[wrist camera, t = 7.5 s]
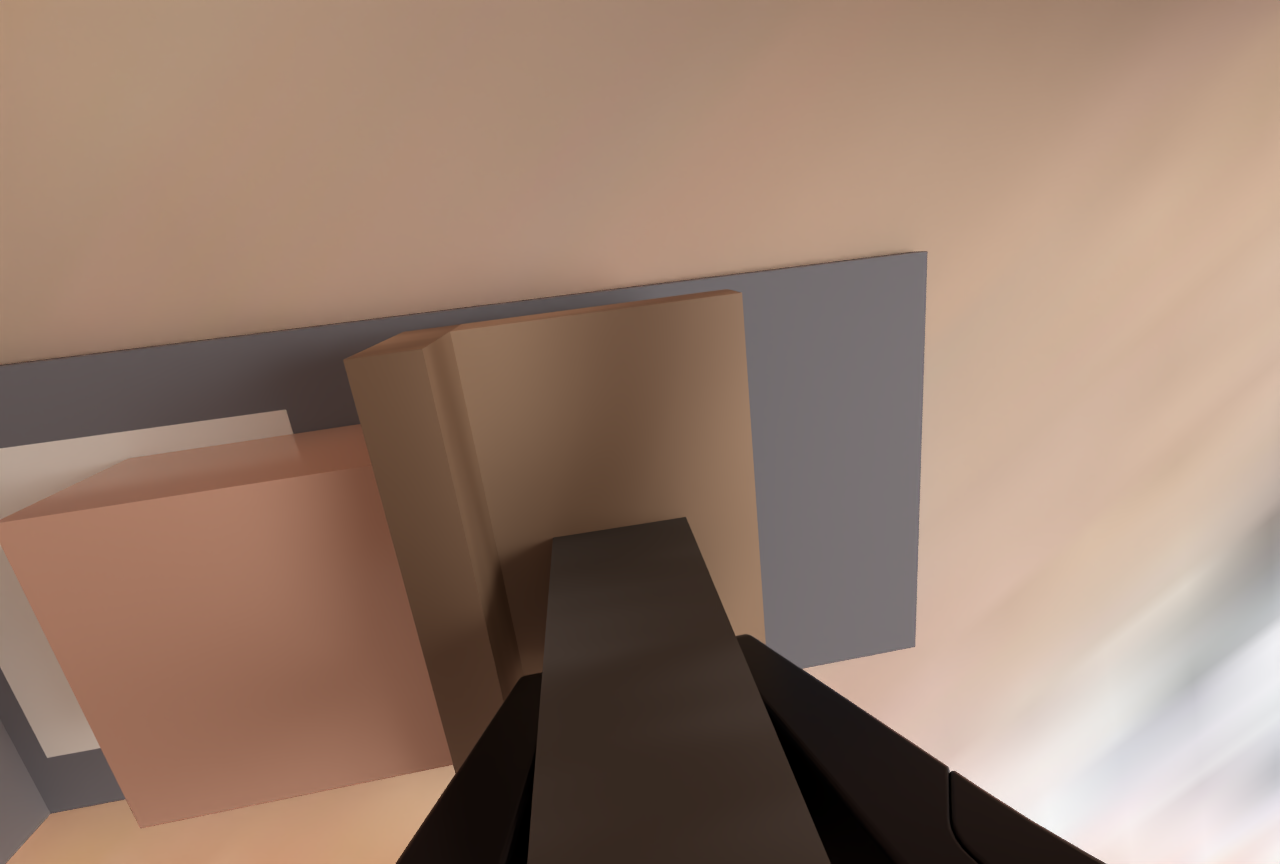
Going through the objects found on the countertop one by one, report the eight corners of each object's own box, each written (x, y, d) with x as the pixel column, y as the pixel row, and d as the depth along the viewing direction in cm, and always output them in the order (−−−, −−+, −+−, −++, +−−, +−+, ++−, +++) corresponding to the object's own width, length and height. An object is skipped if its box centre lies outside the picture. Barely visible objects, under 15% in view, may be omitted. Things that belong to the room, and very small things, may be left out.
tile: (439, 412, 12) (404, 459, 9) (495, 656, 14) (480, 758, 11) (127, 458, 12) (-10, 524, 9) (227, 707, 13) (140, 828, 11)
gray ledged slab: (916, 251, 13) (974, 251, 11) (906, 637, 16) (951, 685, 14) (-212, 391, 11) (-364, 418, 9) (17, 807, 14) (-63, 889, 12)
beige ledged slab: (727, 288, 11) (1107, 382, 3) (760, 735, 14) (994, 1347, 6) (403, 332, 10) (-91, 559, 3) (510, 781, 13) (422, 1492, 6)
